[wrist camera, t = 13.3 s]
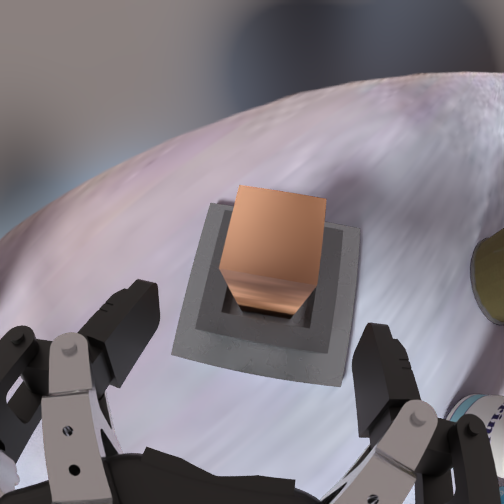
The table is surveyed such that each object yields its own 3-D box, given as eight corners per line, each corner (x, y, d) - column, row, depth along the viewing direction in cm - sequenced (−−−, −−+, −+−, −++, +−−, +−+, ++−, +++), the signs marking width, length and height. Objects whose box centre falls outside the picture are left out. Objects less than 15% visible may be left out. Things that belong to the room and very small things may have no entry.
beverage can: (463, 381, 20) (551, 379, 9) (491, 412, 18) (568, 417, 7) (423, 438, 19) (505, 469, 7) (455, 464, 17) (527, 492, 6)
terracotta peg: (241, 310, 23) (218, 268, 12) (250, 264, 24) (239, 185, 13) (290, 319, 22) (317, 285, 11) (297, 272, 24) (326, 199, 13)
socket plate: (174, 354, 23) (153, 354, 18) (212, 207, 27) (202, 178, 23) (337, 385, 21) (355, 393, 17) (357, 232, 26) (374, 207, 21)
